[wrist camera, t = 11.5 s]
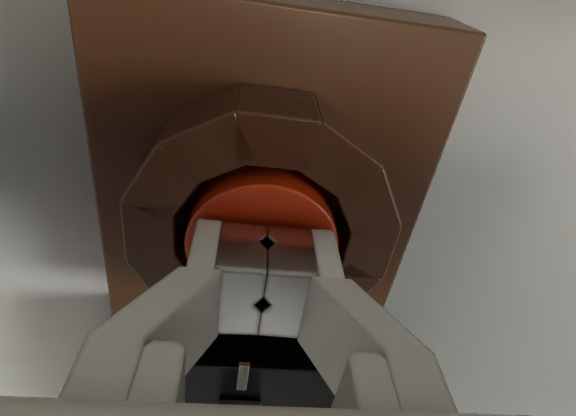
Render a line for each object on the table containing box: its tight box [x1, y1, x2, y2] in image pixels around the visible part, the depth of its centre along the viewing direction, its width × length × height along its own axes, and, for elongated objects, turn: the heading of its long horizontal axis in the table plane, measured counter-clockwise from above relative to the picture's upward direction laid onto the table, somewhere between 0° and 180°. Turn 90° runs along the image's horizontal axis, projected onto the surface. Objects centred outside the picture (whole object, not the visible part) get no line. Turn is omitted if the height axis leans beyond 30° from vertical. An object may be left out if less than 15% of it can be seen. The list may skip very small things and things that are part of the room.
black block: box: [111, 315, 335, 408], centre depth 18 cm, size 11×11×3 cm
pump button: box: [184, 165, 338, 260], centre depth 10 cm, size 4×4×2 cm
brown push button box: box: [67, 0, 486, 334], centre depth 11 cm, size 10×9×4 cm
